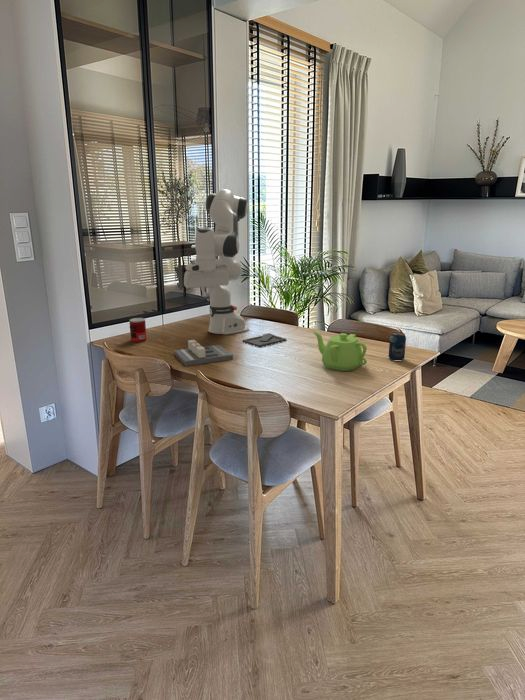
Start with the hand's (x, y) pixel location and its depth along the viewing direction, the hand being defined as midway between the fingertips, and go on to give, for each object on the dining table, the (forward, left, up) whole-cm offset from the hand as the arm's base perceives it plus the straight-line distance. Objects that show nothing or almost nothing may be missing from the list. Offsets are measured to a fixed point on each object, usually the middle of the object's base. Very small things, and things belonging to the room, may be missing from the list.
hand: (207, 296), depth 220 cm
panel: (+4, +3, -27) cm, 28 cm away
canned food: (+25, -38, -27) cm, 53 cm away
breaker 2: (+7, +9, -25) cm, 28 cm away
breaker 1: (+7, -3, -25) cm, 26 cm away
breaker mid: (+7, +3, -25) cm, 26 cm away
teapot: (-45, +40, -27) cm, 66 cm away
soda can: (-73, +44, -27) cm, 90 cm away
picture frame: (-32, -9, -28) cm, 44 cm away
